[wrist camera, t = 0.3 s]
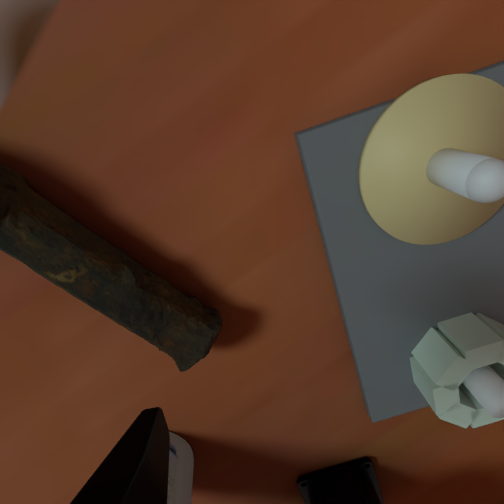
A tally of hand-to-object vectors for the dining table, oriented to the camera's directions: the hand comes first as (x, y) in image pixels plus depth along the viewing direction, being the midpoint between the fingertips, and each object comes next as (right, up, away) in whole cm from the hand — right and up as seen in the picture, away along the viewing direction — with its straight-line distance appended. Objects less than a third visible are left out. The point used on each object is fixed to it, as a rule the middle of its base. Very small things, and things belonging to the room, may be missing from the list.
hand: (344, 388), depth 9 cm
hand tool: (-13, +4, +13) cm, 18 cm away
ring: (+12, -4, +17) cm, 21 cm away
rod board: (+10, +2, +15) cm, 18 cm away
